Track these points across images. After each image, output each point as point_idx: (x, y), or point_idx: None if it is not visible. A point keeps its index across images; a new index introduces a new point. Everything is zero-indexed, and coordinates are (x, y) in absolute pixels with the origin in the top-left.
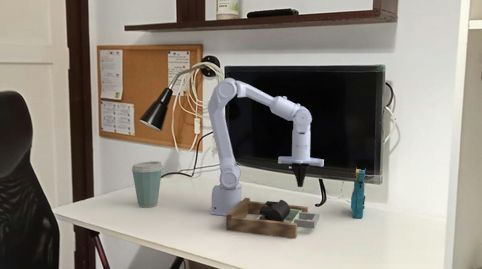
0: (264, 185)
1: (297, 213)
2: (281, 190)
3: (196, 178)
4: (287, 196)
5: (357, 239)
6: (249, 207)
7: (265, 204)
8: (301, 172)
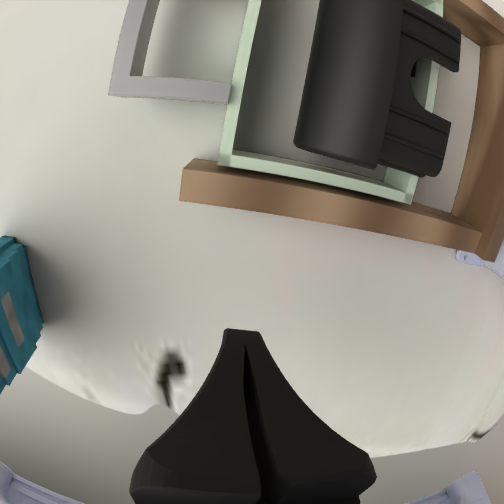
0: None
1: (244, 154)
2: None
3: (470, 430)
4: None
5: (13, 14)
6: (465, 222)
7: (445, 122)
8: (226, 428)
